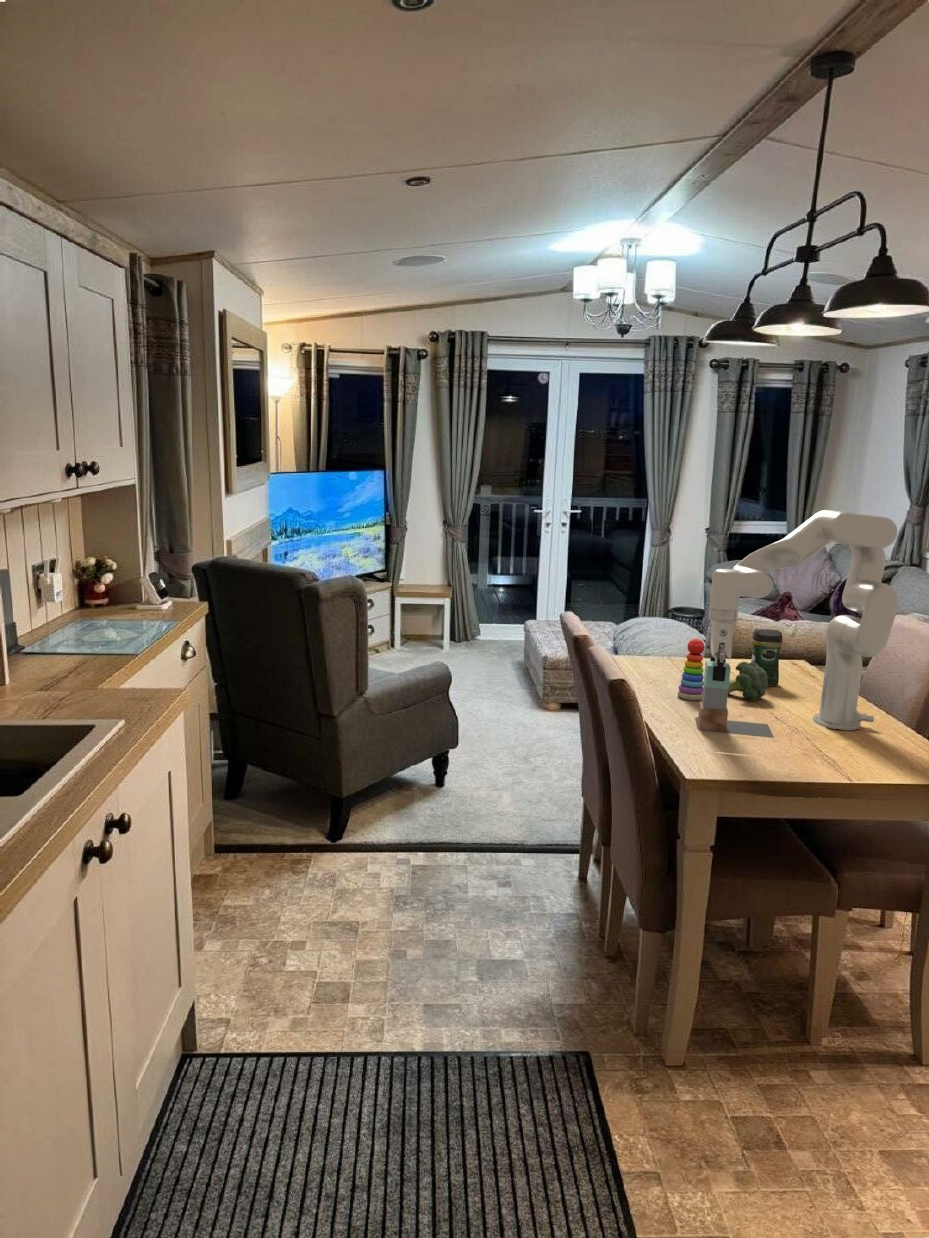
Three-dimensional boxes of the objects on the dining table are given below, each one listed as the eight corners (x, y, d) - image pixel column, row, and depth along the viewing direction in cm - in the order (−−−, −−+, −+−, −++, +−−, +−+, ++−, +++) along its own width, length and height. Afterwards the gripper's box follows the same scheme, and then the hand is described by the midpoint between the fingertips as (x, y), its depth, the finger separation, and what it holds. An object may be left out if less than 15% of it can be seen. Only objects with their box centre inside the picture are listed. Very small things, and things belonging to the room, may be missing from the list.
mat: (767, 725, 243) (767, 724, 243) (773, 739, 231) (774, 737, 231) (694, 718, 247) (694, 717, 246) (697, 731, 235) (697, 730, 235)
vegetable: (729, 680, 281) (773, 668, 273) (732, 715, 274) (778, 703, 266) (712, 663, 274) (757, 650, 266) (715, 698, 267) (761, 685, 258)
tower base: (723, 724, 241) (725, 704, 240) (725, 732, 234) (728, 711, 233) (697, 722, 242) (699, 701, 241) (699, 729, 235) (701, 708, 234)
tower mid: (723, 704, 239) (726, 683, 238) (726, 710, 233) (728, 689, 232) (701, 702, 240) (703, 681, 239) (703, 708, 235) (705, 687, 233)
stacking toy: (704, 702, 263) (710, 642, 260) (677, 699, 265) (683, 640, 261) (702, 695, 271) (708, 637, 267) (676, 693, 272) (682, 635, 269)
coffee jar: (773, 681, 292) (780, 627, 288) (780, 687, 284) (786, 632, 280) (744, 679, 292) (750, 626, 289) (750, 685, 285) (756, 631, 281)
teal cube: (726, 683, 238) (728, 662, 237) (728, 689, 232) (730, 667, 231) (703, 681, 239) (705, 660, 238) (705, 687, 233) (707, 665, 232)
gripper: (741, 622, 223) (734, 685, 226) (734, 610, 239) (727, 669, 243) (711, 619, 224) (705, 683, 228) (706, 608, 241) (700, 667, 244)
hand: (716, 676), depth 235 cm, fingers open, 9 cm apart
